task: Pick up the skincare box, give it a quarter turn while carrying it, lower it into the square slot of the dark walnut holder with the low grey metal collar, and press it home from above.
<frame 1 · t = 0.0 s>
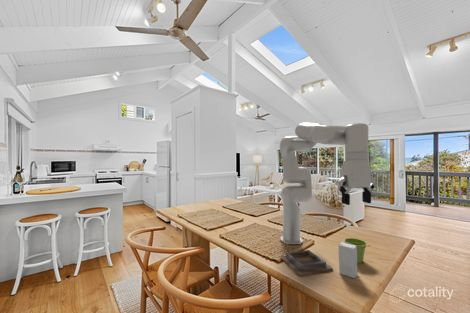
hand: (356, 203, 79), 31 cm above the table, tool pointing down, fingers open, 9 cm apart
slot holder: (305, 264, 96), on the table
plant pot: (355, 260, 100), on the table
skincare box: (347, 274, 87), on the table
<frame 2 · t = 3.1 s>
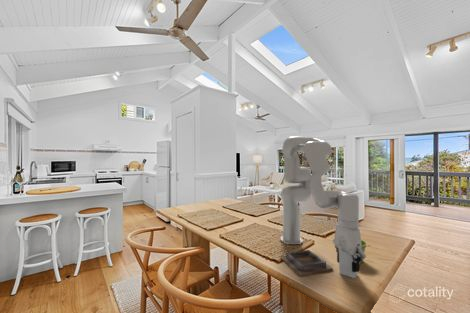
hand: (347, 266, 87), 3 cm above the table, tool pointing down, fingers closed on skincare box, 7 cm apart
skincare box: (347, 274, 87), on the table, touching gripper
everything else where it was.
when the fingers open (6 cm above the table, at t = 8.4 s): skincare box drops 1 cm, resting on slot holder.
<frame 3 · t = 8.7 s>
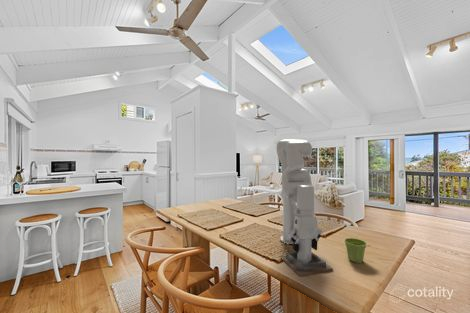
hand: (305, 250, 96), 6 cm above the table, tool pointing down, fingers open, 9 cm apart
skincare box: (304, 262, 96), point 1 cm above the table, touching slot holder
everything else where it was.
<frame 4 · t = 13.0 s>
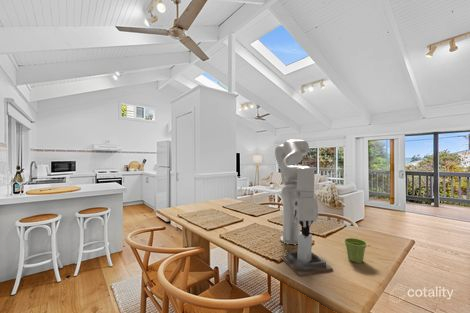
hand: (305, 235, 95), 13 cm above the table, tool pointing down, fingers closed
skincare box: (304, 262, 96), point 1 cm above the table, touching gripper, slot holder
everything else where it was.
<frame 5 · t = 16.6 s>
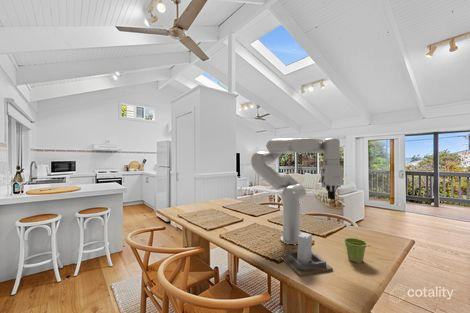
hand: (331, 198, 108), 27 cm above the table, tool pointing down, fingers closed
skincare box: (304, 262, 96), point 1 cm above the table, touching slot holder
everything else where it was.
at the end: skincare box 0.3 cm off-centre on the slot holder, point 0.8 cm above the slot holder's base; skincare box tilted 0°; the gripper is holding nothing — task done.
